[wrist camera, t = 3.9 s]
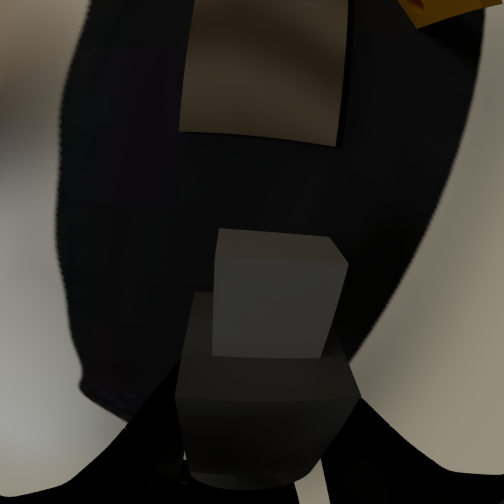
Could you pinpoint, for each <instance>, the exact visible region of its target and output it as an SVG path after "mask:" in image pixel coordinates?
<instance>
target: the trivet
mask: <svg viewBox="0 0 504 504" xmlns="http://www.w3.org/2000/svg"><path fill="white" fill-rule="evenodd" d="M347 18H348V0H195V5H194V11H193V16H192V23H191V29H190V35H189V42H188V49H187V57H186V65H185V73H184V82H183V92H182V102H181V114H180V126H179V131H181V132H209V133H226V134H240V135H251V136H261V137H271V138H279V139H287V140H295V141H302V142H309V143H315V144H322V145H327V146H333V147H335V145H336V137H337V130H338V122H339V114H340V105H341V96H342V86H343V76H344V64H345V51H346V37H347Z"/></svg>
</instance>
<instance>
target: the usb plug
mask: <svg viewBox="0 0 504 504" xmlns="http://www.w3.org/2000/svg"><path fill="white" fill-rule="evenodd" d="M347 268H348V262H347V261H346V260H345V258H344V257H343V255H342V254H341V253H340V251H339V250H338V249H337V247H336V246H335V244H334V243H333V242H332V240H331V239H330V238H329V237H321V236H310V235H298V234H286V233H273V232H260V231H247V230H233V229H219V235H218V241H217V247H216V254H215V273H214V293H205V292H195V295H194V299H193V304H192V308H191V313H190V318H189V323H188V328H187V333H186V337H185V342H184V348H183V353H182V358H181V363H180V369H179V374H178V380H177V385H176V391H175V402H176V408H177V414H178V419H179V425H180V430H181V435H182V440H183V445H184V450H185V454H186V459H187V463H188V468H189V472H190V474H191V475H192V477H194V478H195V479H196V480H198V481H200V482H202V483H204V484H207V485H210V486H214V487H218V488H223V489H231V490H261V489H269V488H275V487H279V486H283V485H287V484H290V483H293V482H295V481H297V480H300V479H301V478H303V477H305V476H306V475H307V474H309V473H310V472H311V470H312V469H313V468H314V466H315V465H316V464H317V462H318V461H319V459H320V458H321V457H322V456H323V454H324V453H325V451H326V450H327V449H328V447H329V446H330V444H331V443H332V441H333V440H334V438H335V437H336V435H337V434H338V432H339V431H340V429H341V428H342V426H343V425H344V423H345V422H346V420H347V419H348V417H349V415H350V414H351V412H352V410H353V409H354V407H355V405H356V404H357V402H358V400H359V399H360V397H361V394H360V391H359V389H358V386H357V384H356V381H355V379H354V376H353V374H352V371H351V369H350V366H349V364H348V361H347V359H346V356H345V354H344V351H343V349H342V346H341V344H340V342H339V339H338V337H337V334H336V332H335V330H334V327H333V325H332V320H333V317H334V314H335V311H336V307H337V304H338V300H339V297H340V294H341V290H342V286H343V283H344V279H345V276H346V272H347Z"/></svg>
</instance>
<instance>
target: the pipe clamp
mask: <svg viewBox="0 0 504 504" xmlns="http://www.w3.org/2000/svg"><path fill="white" fill-rule="evenodd" d="M398 2H399V3H400V4H401V6H402V7H403V9H404V10H405V11H406V13H407V14H408V16H409V17H410V19H411V20H412V22H413V23H414V25H415V26H416V28H417V29H418V28H421V27H424V26H427V25H430V24H433V23H436V22H439V21H442V20H445V19H448V18H451V17H454V16H457V15H460V14H464V13H467V12H471V11H474V10H478V9H482V8H486V7H490V6H494V5H499V4H503V3H502V1H501V0H398Z"/></svg>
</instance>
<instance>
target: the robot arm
mask: <svg viewBox="0 0 504 504" xmlns="http://www.w3.org/2000/svg"><path fill="white" fill-rule="evenodd" d="M180 363H181V359H180V360H179V361H178V362H177V364H176V365H175V366H174V367H173V369H172V370H171V371H170V372H169V374H168V375H167V376H166V377H165V378H164V380H163V381H162V382H161V383H160V385H159V386H158V387H157V388H156V390H155V391H154V392H153V393H152V394H151V396H150V397H149V398H148V399H147V401H146V402H145V403H144V404H143V405H142V407H141V408H140V409H139V410H138V412H137V413H136V414H135V415H134V416H133V418H132V419H131V420H130V421H129V423H128V424H127V425H126V426H125V428H126V429H125V428H124V429H123V430H122V431H121V432H120V433H119V435H118V436H117V437H116V438H115V439H114V440H113V441H112V442H111V444H110V445H109V446H108V447H107V448H106V449H105V450H104V451H103V452H102V453H101V454H100V455H99V456H97V457H96V458H95V459H94V460H93V461H92V462H91V463H90V464H88V465H87V466H86V467H85V468H84V469H83V470H82V471H80V472H79V473H78V474H77V475H76V476H75V477H73V478H72V479H71V480H70V481H68V482H66V483H64V484H62V485H60V486H57V487H54V488H50V489H46V490H42V491H39V492H34V493H30V494H25V495H21V496H15V497H4V496H0V504H299V499H298V495H297V492H296V488H295V485H294V482H293V483H290V484H287V485H283V486H279V487H275V488H269V489H261V490H231V489H223V488H218V487H214V486H210V485H207V484H204V483H202V482H200V481H198V480H196V479H195V478H194V477H192V475H191V474H190V472H189V468H188V463H187V460H184V459H183V457H184V452H185V450H184V445H183V440H182V435H181V430H180V425H179V419H178V414H177V408H176V402H175V391H176V385H177V380H178V374H179V369H180ZM321 462H322V467H323V471H324V476H325V481H326V485H327V490H328V495H329V500H330V504H504V474H502V475H485V474H471V473H459V472H453V471H450V470H447V469H445V468H443V467H441V466H439V465H438V464H437V463H436V462H434V461H433V460H431V459H430V458H428V457H427V456H426V455H425V454H423V453H422V452H420V451H419V450H418V449H416V448H415V447H414V446H413V445H411V444H410V443H409V442H408V441H407V440H405V439H404V438H403V437H402V436H401V435H400V434H399V433H398V432H397V431H395V429H393V428H392V427H390V425H389V424H388V423H387V422H386V421H385V420H384V419H383V418H382V417H381V416H380V415H379V414H378V413H377V412H376V411H375V410H374V409H373V408H372V407H371V406H370V405H369V404H368V403H367V402H366V401H365V400H364V399H362V398H361V397H360V399H359V400H358V402H357V404H356V405H355V407H354V409H353V410H352V412H351V414H350V415H349V417H348V419H347V420H346V422H345V423H344V425H343V426H342V428H341V429H340V431H339V432H338V434H337V435H336V437H335V438H334V440H333V441H332V443H331V444H330V446H329V447H328V449H327V450H326V451H325V453H324V454H323V456H322V457H321Z"/></svg>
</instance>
